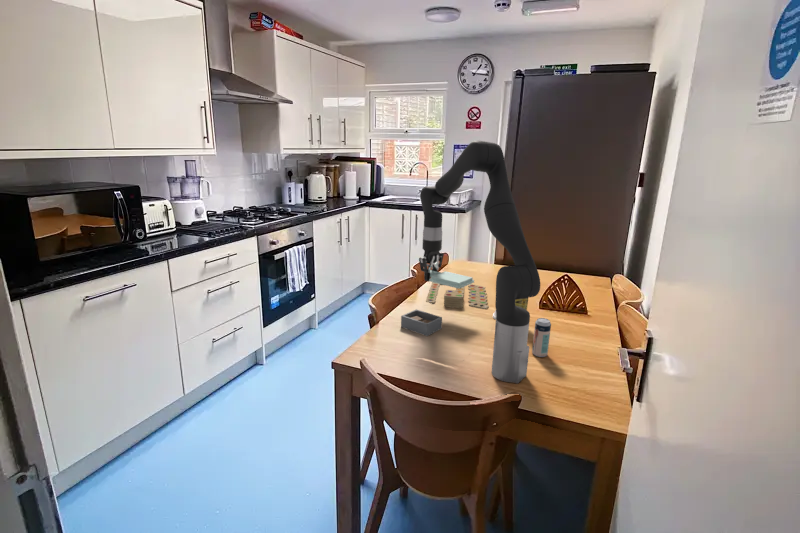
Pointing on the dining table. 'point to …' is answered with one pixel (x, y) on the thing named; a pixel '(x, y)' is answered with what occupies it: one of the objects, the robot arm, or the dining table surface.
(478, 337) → the dining table surface
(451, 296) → the pile of dominoes
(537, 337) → the beer can
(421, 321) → the walnut block
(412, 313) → the tub
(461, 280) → the lid
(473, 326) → the dining table surface
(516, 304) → the sauce bottle
